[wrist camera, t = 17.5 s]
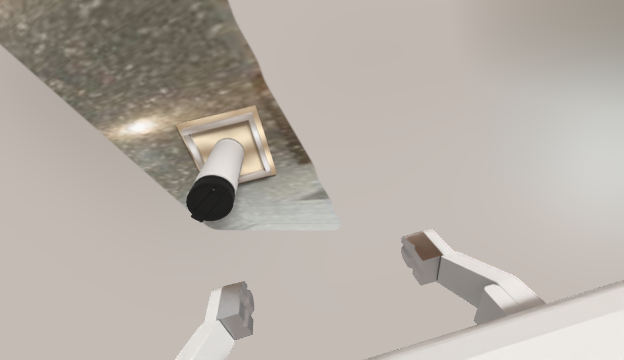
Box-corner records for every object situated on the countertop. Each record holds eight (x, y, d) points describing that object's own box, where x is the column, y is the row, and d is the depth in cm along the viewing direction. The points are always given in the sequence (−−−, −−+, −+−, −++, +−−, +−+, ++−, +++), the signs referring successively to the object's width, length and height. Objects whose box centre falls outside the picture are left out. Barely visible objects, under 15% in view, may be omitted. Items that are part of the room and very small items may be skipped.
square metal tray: (176, 123, 45) (172, 127, 43) (255, 105, 46) (255, 107, 44) (210, 189, 53) (208, 194, 51) (276, 172, 54) (277, 177, 52)
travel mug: (207, 153, 48) (174, 210, 31) (225, 131, 47) (202, 177, 29) (232, 170, 51) (214, 230, 34) (250, 150, 49) (242, 202, 32)
